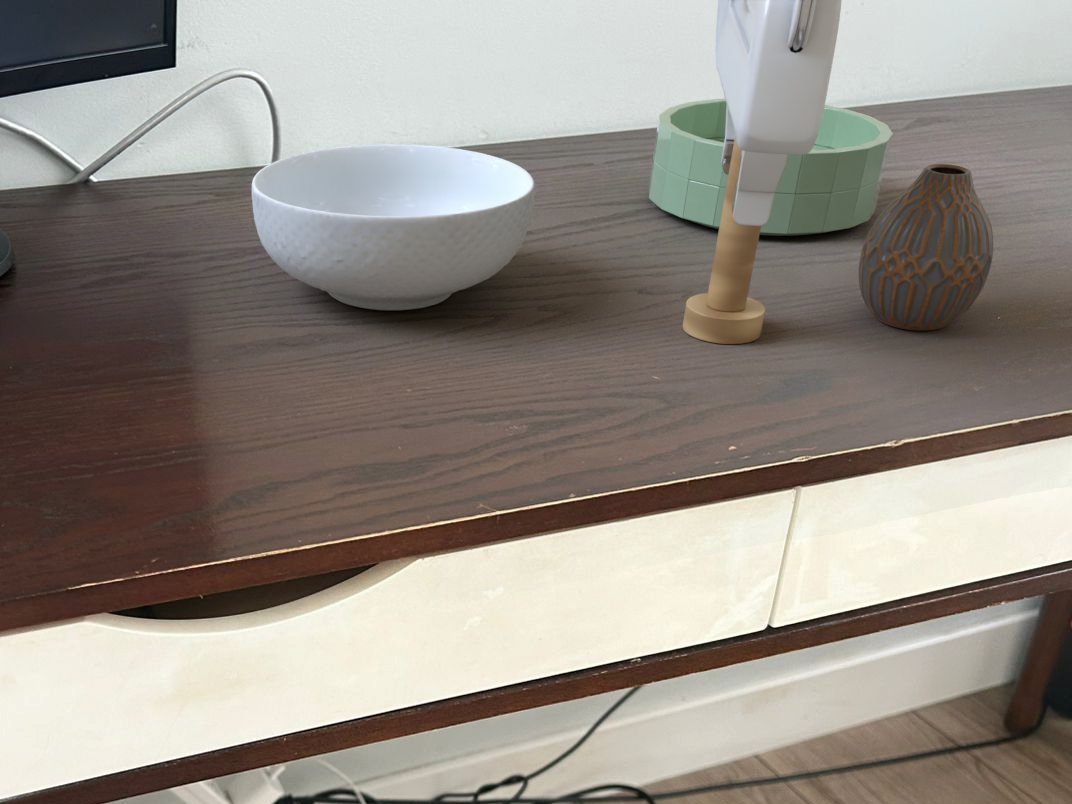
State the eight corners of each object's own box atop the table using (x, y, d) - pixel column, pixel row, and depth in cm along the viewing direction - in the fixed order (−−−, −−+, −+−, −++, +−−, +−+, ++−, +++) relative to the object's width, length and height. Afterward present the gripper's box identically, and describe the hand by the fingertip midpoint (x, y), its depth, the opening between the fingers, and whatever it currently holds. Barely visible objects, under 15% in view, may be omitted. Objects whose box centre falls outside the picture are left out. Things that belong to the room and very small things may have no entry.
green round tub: (855, 184, 104) (873, 103, 101) (887, 249, 92) (910, 158, 88) (645, 173, 107) (657, 94, 104) (649, 234, 94) (662, 146, 91)
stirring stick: (757, 319, 81) (812, 40, 73) (763, 347, 77) (822, 56, 69) (680, 313, 82) (726, 37, 73) (683, 341, 78) (731, 53, 70)
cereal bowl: (508, 246, 92) (518, 139, 89) (541, 340, 78) (555, 218, 75) (258, 245, 93) (256, 139, 89) (246, 338, 79) (244, 216, 75)
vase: (854, 335, 79) (890, 182, 74) (841, 294, 84) (874, 149, 80) (983, 345, 77) (1028, 190, 73) (961, 303, 83) (1002, 156, 78)
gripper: (895, -52, 59) (824, 260, 66) (835, -102, 76) (784, 152, 83) (743, -57, 60) (690, 251, 67) (717, -105, 77) (677, 146, 84)
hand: (742, 195), depth 75 cm, fingers open, 8 cm apart
